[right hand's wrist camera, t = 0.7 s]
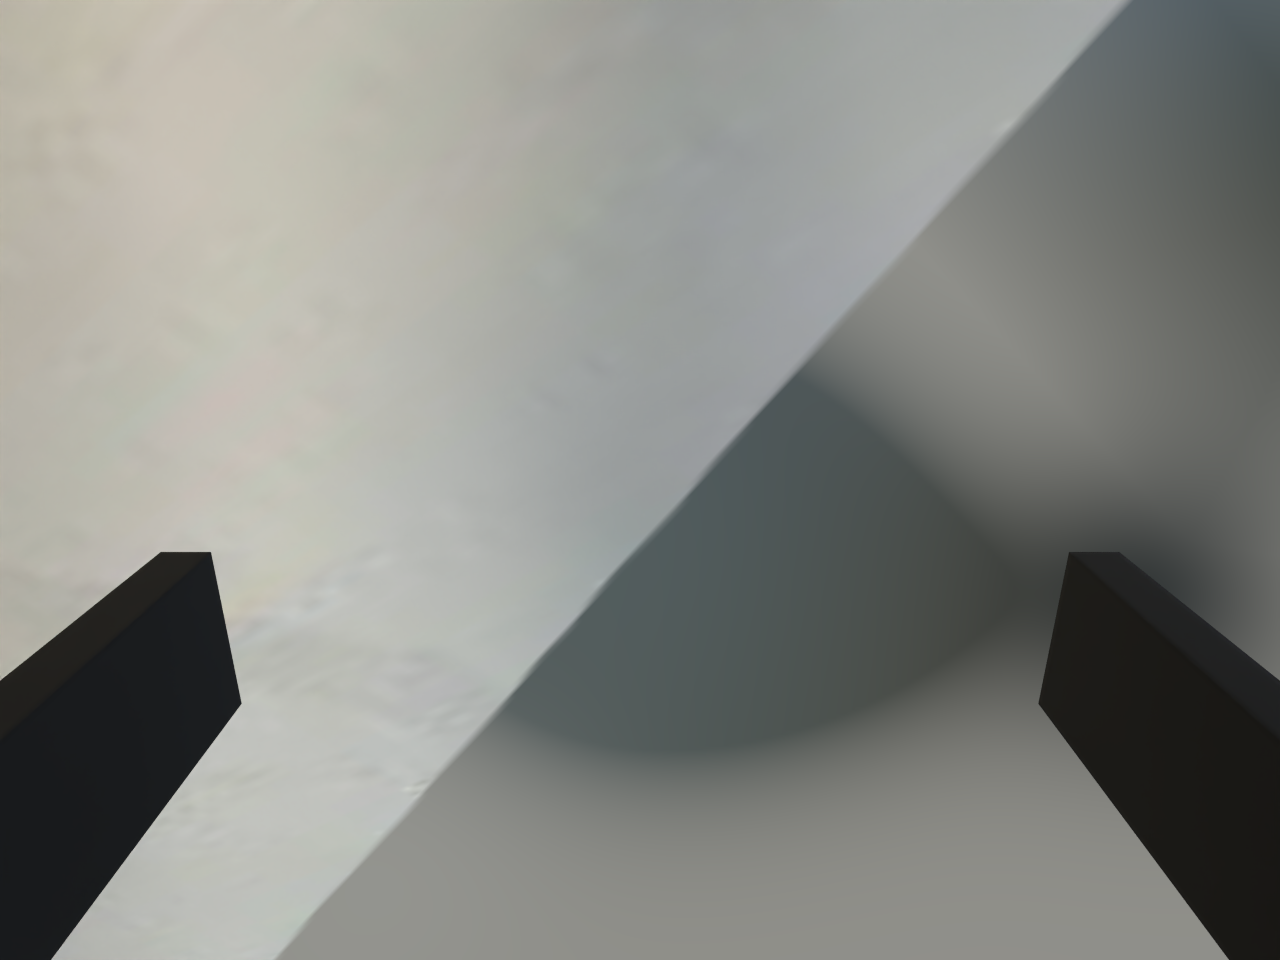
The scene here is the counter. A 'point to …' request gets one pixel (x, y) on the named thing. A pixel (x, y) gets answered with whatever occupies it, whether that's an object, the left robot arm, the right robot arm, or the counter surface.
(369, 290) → the counter surface
